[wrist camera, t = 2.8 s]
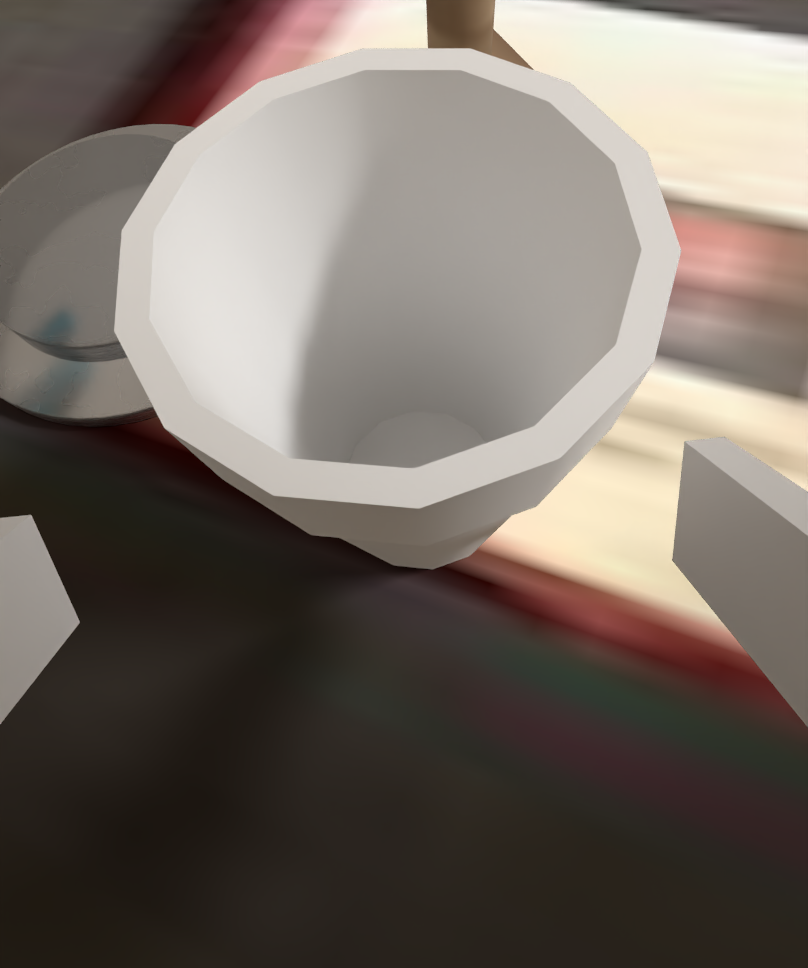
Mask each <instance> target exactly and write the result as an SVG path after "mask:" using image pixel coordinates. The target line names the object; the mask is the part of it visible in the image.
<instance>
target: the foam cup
mask: <svg viewBox="0 0 808 968" xmlns="http://www.w3.org/2000/svg"><path fill="white" fill-rule="evenodd" d="M680 254H681V248H680V245H679V243H678V240H677V237H676V234H675V231H674V228H673V225H672V222H671V219H670V216H669V213H668V210H667V208H666V205H665V202H664V199H663V196H662V193H661V190H660V187H659V184H658V181H657V178H656V176H655V173H654V170H653V167H652V164H651V161H650V158H649V155H648V152H647V151H646V150H645V149H643V148H642V147H641V146H640V145H639V144H638V143H637V142H636V141H635V140H633V139H632V138H631V137H630V136H629V135H628V134H627V133H626V132H625V131H623V130H622V129H621V128H620V127H619V126H618V125H617V124H616V123H615V122H613V121H612V120H611V119H610V118H609V117H608V116H607V115H606V114H605V113H604V112H602V111H601V110H600V109H599V108H598V107H597V106H596V105H595V104H594V103H592V102H591V101H590V100H589V99H588V98H587V97H586V96H585V95H584V94H582V93H581V92H580V91H579V90H578V89H577V88H576V87H575V86H574V85H572V84H571V83H570V82H567V81H564V80H561V79H558V78H555V77H552V76H549V75H546V74H543V73H540V72H538V71H535V70H532V69H529V68H526V67H523V66H520V65H517V64H514V63H511V62H508V61H506V60H503V59H500V58H497V57H494V56H491V55H488V54H485V53H482V52H479V51H476V50H474V49H471V48H419V49H360V50H356V51H353V52H350V53H347V54H344V55H341V56H338V57H335V58H332V59H328V60H325V61H322V62H319V63H316V64H313V65H310V66H307V67H303V68H300V69H297V70H294V71H291V72H288V73H285V74H282V75H279V76H275V77H272V78H269V79H266V80H263V81H260V82H258V83H257V84H256V85H254V86H253V87H252V88H250V89H249V90H248V91H246V92H245V93H244V94H242V95H241V96H239V97H238V98H237V99H235V100H234V101H233V102H231V103H230V104H229V105H227V106H226V107H225V108H223V109H222V110H220V111H219V112H218V113H216V114H215V115H214V116H212V117H211V118H210V119H208V120H207V121H206V122H204V123H203V124H201V125H200V126H199V127H197V128H196V129H195V130H193V131H192V132H191V133H189V134H188V135H187V136H185V137H184V138H182V139H181V140H180V141H178V142H177V143H176V144H175V145H174V147H173V148H172V150H171V151H170V153H169V155H168V156H167V158H166V160H165V161H164V163H163V164H162V166H161V168H160V169H159V171H158V172H157V174H156V176H155V177H154V179H153V181H152V182H151V184H150V185H149V187H148V189H147V190H146V192H145V193H144V195H143V197H142V198H141V200H140V202H139V203H138V205H137V206H136V208H135V210H134V211H133V213H132V215H131V216H130V218H129V219H128V221H127V223H126V224H125V226H124V227H123V229H122V233H121V246H120V259H119V272H118V286H117V299H116V312H115V325H114V332H115V334H116V336H117V338H118V340H119V342H120V344H121V346H122V347H123V349H124V351H125V353H126V355H127V357H128V359H129V361H130V363H131V365H132V367H133V369H134V371H135V373H136V374H137V376H138V378H139V380H140V382H141V384H142V386H143V388H144V390H145V392H146V394H147V396H148V398H149V400H150V401H151V403H152V405H153V407H154V409H155V411H156V413H157V415H158V417H159V419H160V421H161V423H162V425H163V426H164V428H165V429H166V430H167V431H168V432H169V433H170V434H172V435H173V436H174V437H175V438H176V439H177V440H178V441H180V442H181V443H182V444H183V445H184V446H185V447H186V448H188V449H189V450H190V451H191V452H192V453H193V454H194V455H195V456H197V457H198V458H199V459H200V460H201V461H202V462H203V463H205V464H206V465H207V466H208V467H209V468H210V469H211V470H213V471H214V472H215V473H216V474H217V475H218V476H219V477H220V478H222V479H223V480H224V481H226V482H228V483H229V484H231V485H232V486H234V487H235V488H237V489H239V490H240V491H242V492H243V493H245V494H247V495H248V496H250V497H251V498H253V499H255V500H256V501H258V502H259V503H261V504H262V505H264V506H266V507H267V508H269V509H270V510H272V511H274V512H275V513H277V514H278V515H280V516H282V517H283V518H285V519H286V520H288V521H290V522H291V523H293V524H294V525H296V526H297V527H299V528H301V529H302V530H304V531H305V532H307V533H309V534H310V535H315V536H326V537H336V538H341V539H343V540H345V541H347V542H349V543H351V544H353V545H355V546H357V547H359V548H360V549H362V550H364V551H366V552H368V553H370V554H372V555H374V556H376V557H378V558H380V559H382V560H384V561H386V562H388V563H390V564H392V565H394V566H404V567H414V568H424V569H435V568H438V567H441V566H443V565H446V564H449V563H452V562H454V561H457V560H460V559H463V558H466V557H468V556H470V555H471V554H472V553H473V552H474V551H475V550H476V549H477V548H478V547H479V546H480V545H482V544H483V543H484V542H485V541H486V540H487V539H488V538H489V537H490V536H491V535H492V534H493V533H494V532H495V531H496V530H497V529H498V528H499V527H500V526H501V525H502V524H503V523H504V522H505V521H506V520H507V519H508V518H509V517H510V516H511V515H514V514H517V513H520V512H523V511H525V510H528V509H531V508H534V507H536V506H537V505H538V504H539V503H540V502H541V501H542V500H543V499H544V498H545V497H546V496H547V495H548V494H549V493H550V492H551V491H552V490H553V489H554V488H555V486H556V485H557V484H558V483H559V482H560V481H561V480H562V479H563V478H564V477H565V476H566V475H567V474H568V473H569V472H570V471H571V470H572V469H573V468H574V467H575V466H576V465H577V464H578V463H579V462H580V461H581V459H582V458H583V457H584V456H585V455H586V454H587V453H588V452H589V451H590V450H591V449H592V448H593V447H594V446H595V445H596V444H597V443H598V442H599V441H600V440H601V439H602V438H603V437H604V436H605V435H606V434H607V432H608V431H609V430H610V429H611V428H612V427H613V425H614V423H615V422H616V420H617V419H618V417H619V416H620V414H621V413H622V411H623V409H624V408H625V406H626V405H627V403H628V402H629V400H630V399H631V397H632V395H633V394H634V392H635V391H636V389H637V388H638V386H639V384H640V383H641V381H642V380H643V378H644V377H645V375H646V374H647V372H648V370H649V369H650V367H651V366H652V364H653V363H654V359H655V355H656V351H657V347H658V343H659V339H660V335H661V331H662V327H663V323H664V319H665V315H666V311H667V307H668V302H669V298H670V294H671V290H672V286H673V282H674V278H675V274H676V270H677V266H678V262H679V258H680Z"/></svg>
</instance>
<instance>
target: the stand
mask: <svg viewBox="0 0 808 968" xmlns="http://www.w3.org/2000/svg"><path fill="white" fill-rule="evenodd" d="M426 4H427V33H428V48H471V49H474V50H476V51H479V52H482V53H485V54H488V55H491V56H494V57H497V58H500V59H503V60H506V61H508V62H511V63H514V64H517V65H520V66H523V67H526V68H529V69H532V68H531V67H530V66H529V65H528V64H527V63H526V62H525V61H524V60H523V59H522V58H521V57H520V56H519V55H518V54H517V53H516V52H515V50H514V49H513V48H512V47H511V46H510V45H509V44H508V43H507V42H506V41H505V40H504V39H503V38H502V37H501V36H500V35H499V34H498V33H497V32H496V31H495V30H494V29H493V25H494V10H495V0H426ZM532 70H533V69H532Z"/></svg>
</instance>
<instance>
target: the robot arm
mask: <svg viewBox="0 0 808 968" xmlns="http://www.w3.org/2000/svg"><path fill="white" fill-rule="evenodd" d="M672 561H673V562H674V563H675V564H676V566H677V567H678V568H679V569H680V571H681V572H682V573H683V574H684V575H685V577H686V578H687V579H688V580H689V582H690V583H691V584H692V585H693V587H694V588H695V589H696V590H697V591H698V593H699V594H700V595H701V596H702V598H703V599H704V600H705V601H706V603H707V604H708V605H709V606H710V607H711V609H712V610H713V611H714V612H715V614H716V615H717V616H718V617H719V619H720V620H721V621H722V622H723V623H724V625H725V626H726V627H727V628H728V630H729V631H730V632H731V633H732V635H733V636H734V637H735V638H736V639H737V641H738V642H739V643H740V644H741V646H742V647H743V648H744V649H745V651H746V652H747V653H748V654H749V656H750V657H751V658H752V659H753V660H754V662H755V663H756V664H757V665H758V667H759V668H760V669H761V670H762V672H763V673H764V674H765V675H766V676H767V678H768V679H769V680H770V681H771V683H772V684H773V685H774V686H775V688H776V689H777V690H778V691H779V692H780V694H781V695H782V696H783V697H784V699H785V700H786V701H787V702H788V704H789V705H790V706H791V707H792V708H793V710H794V711H795V712H796V713H797V715H798V716H799V717H800V718H801V720H802V721H803V722H804V723H805V724H806V726H807V727H808V492H807V491H806V490H804V489H803V488H801V487H800V486H798V485H797V484H795V483H794V482H792V481H791V480H789V479H788V478H786V477H785V476H783V475H782V474H780V473H779V472H777V471H775V470H774V469H772V468H771V467H769V466H768V465H766V464H765V463H763V462H762V461H760V460H759V459H757V458H756V457H754V456H753V455H751V454H750V453H748V452H747V451H745V450H744V449H742V448H741V447H739V446H738V445H736V444H735V443H733V442H732V441H730V440H729V439H727V438H725V437H718V438H710V439H701V440H692V441H685V442H684V451H683V461H682V471H681V481H680V490H679V500H678V510H677V520H676V529H675V539H674V549H673V559H672ZM79 623H80V621H79V619H78V617H77V615H76V612H75V610H74V608H73V606H72V604H71V601H70V599H69V597H68V595H67V593H66V590H65V588H64V586H63V584H62V582H61V579H60V577H59V575H58V573H57V571H56V568H55V566H54V564H53V562H52V560H51V557H50V555H49V553H48V551H47V549H46V546H45V544H44V542H43V540H42V538H41V535H40V533H39V531H38V529H37V527H36V524H35V522H34V520H33V518H32V515H24V516H15V517H6V518H0V724H1V723H2V721H3V720H4V719H5V717H6V716H7V715H8V714H9V712H10V711H11V710H12V709H13V707H14V706H15V705H16V703H17V702H18V701H19V700H20V698H21V697H22V696H23V695H24V693H25V692H26V691H27V689H28V688H29V687H30V686H31V684H32V683H33V682H34V680H35V679H36V678H37V677H38V675H39V674H40V673H41V672H42V670H43V669H44V668H45V666H46V665H47V664H48V663H49V661H50V660H51V659H52V658H53V656H54V655H55V654H56V652H57V651H58V650H59V649H60V647H61V646H62V645H63V643H64V642H65V641H66V640H67V638H68V637H69V636H70V635H71V633H72V632H73V631H74V629H75V628H76V627H77V626H78V624H79Z"/></svg>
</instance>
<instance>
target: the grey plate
mask: <svg viewBox="0 0 808 968" xmlns="http://www.w3.org/2000/svg"><path fill="white" fill-rule="evenodd" d="M195 129H196V128H194V127H188V126H180V125H168V124H150V125H138V126H129V127H124V128H119V129H113V130H109V131H105V132H102V133H98V134H95V135H91V136H88V137H86V138H83V139H80V140H78V141H75V142H73V143H70V144H68V145H66V146H64V147H62V148H60V149H58V150H56V151H54V152H51V153H50V154H48V155H46V156H45V157H43V158H41V159H40V160H38V161H36V162H35V163H33V164H32V165H30V166H29V167H28V168H26V169H25V170H23V171H22V172H21V173H19V174H18V175H17V176H15V177H14V178H13V179H12V180H11V181H9V182H8V183H7V184H6V185H5V186H4V187H3V188H2V189H0V398H2V399H3V400H5V401H6V402H8V403H10V404H11V405H13V406H15V407H17V408H18V409H20V410H22V411H24V412H26V413H28V414H30V415H33V416H36V417H38V418H41V419H44V420H46V421H51V422H56V423H60V424H65V425H73V426H86V427H98V426H116V425H122V424H127V423H133V422H139V421H143V420H146V419H149V418H153V417H156V416H158V415H157V413H156V411H155V409H154V407H153V405H152V403H151V401H150V400H149V398H148V396H147V394H146V392H145V390H144V388H143V386H142V384H141V382H140V380H139V378H138V376H137V374H136V373H135V371H134V369H133V367H132V365H131V363H130V361H129V359H128V357H127V355H126V353H125V351H124V349H123V347H122V346H121V344H120V342H119V340H118V338H117V336H116V334H115V332H114V325H115V312H116V299H117V286H118V272H119V259H120V246H121V233H122V229H123V227H124V226H125V224H126V223H127V221H128V219H129V218H130V216H131V215H132V213H133V211H134V210H135V208H136V206H137V205H138V203H139V202H140V200H141V198H142V197H143V195H144V193H145V192H146V190H147V189H148V187H149V185H150V184H151V182H152V181H153V179H154V177H155V176H156V174H157V172H158V171H159V169H160V168H161V166H162V164H163V163H164V161H165V160H166V158H167V156H168V155H169V153H170V151H171V150H172V148H173V147H174V145H175V144H176V143H177V142H178V141H180V140H181V139H182V138H184V137H185V136H187V135H188V134H189V133H191V132H192V131H193V130H195Z"/></svg>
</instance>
